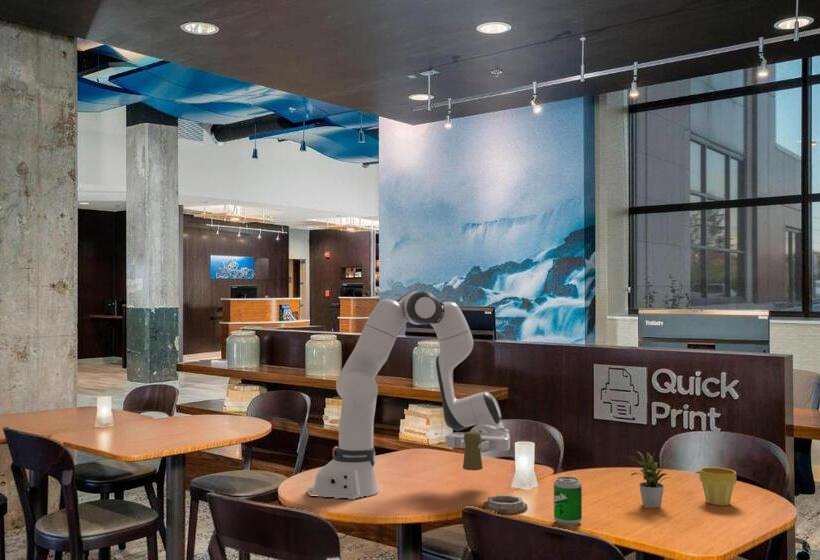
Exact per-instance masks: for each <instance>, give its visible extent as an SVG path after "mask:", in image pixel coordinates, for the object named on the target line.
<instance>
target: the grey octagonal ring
mask: <svg viewBox="0 0 820 560" xmlns="http://www.w3.org/2000/svg"><path fill="white" fill-rule="evenodd" d="M482 508H484V509H487V510H490V511H494V512H497V513H502V514H501V515H516V514H515V513H519V514H521V513H520V512H523V513H525V512H527V511H528V504H527V503H526V502H524V501H523V498H522V497H521V496H520V497H519V496H515V495H509V494H500V495H499V494H497V495H493V496H489V497H487V500H486V501H484V502H483V503H482ZM484 509H483V510H484ZM526 510H527V511H526ZM524 511H525V512H524Z"/></svg>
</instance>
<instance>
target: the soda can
mask: <svg viewBox="0 0 820 560" xmlns="http://www.w3.org/2000/svg"><path fill="white" fill-rule="evenodd" d="M582 496H583V494H582V482H581V481H580V480H579V479H578V478H577V477H574V476H559V477H558V476H557V478H556V479H555V480H554V481H553V519H554V521H556V523H557V524H558V525H561V526H566V527H568V526H569V527H571V526H572V527H573V526H578V525H580V524H579V523H581V521H582V519H583V518H582V517H583V515H582V514H583V513H582V512H583V511H582V510H583V509H582V505H583V502H582V501H583V500H582Z"/></svg>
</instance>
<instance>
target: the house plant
mask: <svg viewBox="0 0 820 560" xmlns="http://www.w3.org/2000/svg"><path fill="white" fill-rule="evenodd" d="M637 453H638V454H639V455H640V457H641V461H639V460H638V459H637V458H635V457H634V456H631V455H630V457H631V460H633V461H634V462H637V463H638V465H639V466H641V469H639V471H640V472H641V473H642V474H641V473H639V472H635V471H633V470H631V469H630V471H631V472H633V473H632V474H630V477H632V476H634V475H641V476H642V477H643V482H639V485H638V486H639V491H640V492H639V493H640V496H641V502H642V506H643V505H644V506H643V507H645V506H647V507H646V508H648V507H659V508H661V507H662V502H663V495H664V487H665V485H664V484H662V483H661V482H662V481H663V480H665V479H668V478H669V479H672V477H671V476H668V477H664V476H666V475H669V474H668V473H665V472H663V468H662V467H663V466H664V464H665V462H666V460H667V458H665V459H664V460H663V462H662V463H661V464H660V466H659V468H658V462H654V457H655V453H656V452H654V454H653V455H651V454H650V453H649V452H647V453H646V459H645V456H644V455H643V453H641V452H639V451H637ZM625 456H626V457H628V455H627V454H626V455H625ZM632 458H634V459H635V460H634V459H632ZM673 461H674V459H673V460H671V462H673ZM668 463H670V461H667V464H668ZM661 472H663V473H661ZM663 477H664V478H663ZM662 478H663V479H662ZM660 506H661V507H660Z"/></svg>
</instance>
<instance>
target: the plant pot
mask: <svg viewBox="0 0 820 560" xmlns="http://www.w3.org/2000/svg"><path fill="white" fill-rule="evenodd" d="M698 476H699V481H700V482H701V484H702V488H703V493H704V497H705V502H706V503H708V504H709V505H712V506H713V505H714V506H720V505H721V506H723V507H724V505H725V506H729V505H730V504H731V499H732V494H733V490H734V487H735V485H736V484H737V472H736V471H735V470H734V469H730V468H729V469H728V468H723V467H716V466H715V467H712V466H711V467H710V466H709V467H707V466H706V467H702V468H700V469H699V473H698ZM721 506H720V507H721Z"/></svg>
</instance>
